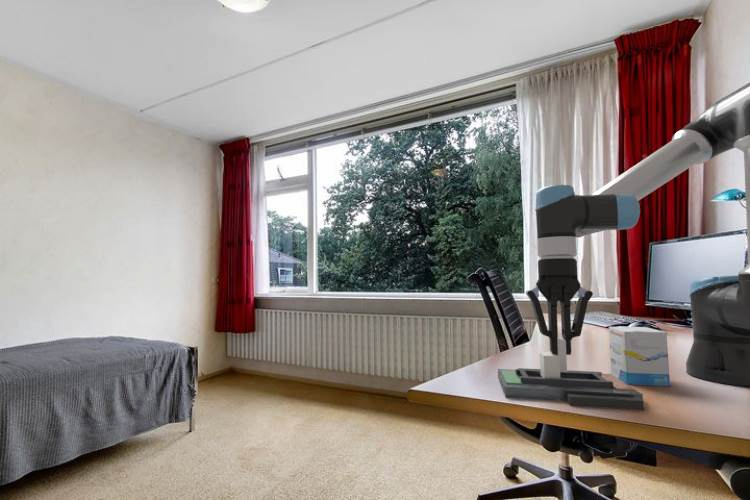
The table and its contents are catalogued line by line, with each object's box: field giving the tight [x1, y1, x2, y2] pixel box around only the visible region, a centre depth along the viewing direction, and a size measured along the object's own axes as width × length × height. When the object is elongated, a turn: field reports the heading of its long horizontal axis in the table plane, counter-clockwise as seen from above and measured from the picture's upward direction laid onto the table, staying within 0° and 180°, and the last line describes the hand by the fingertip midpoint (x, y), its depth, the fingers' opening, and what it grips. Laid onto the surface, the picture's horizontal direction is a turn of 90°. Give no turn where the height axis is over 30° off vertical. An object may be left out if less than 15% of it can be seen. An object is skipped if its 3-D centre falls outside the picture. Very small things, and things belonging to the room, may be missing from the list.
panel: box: [497, 368, 644, 402], centre depth 76 cm, size 24×14×3 cm, turn 77°
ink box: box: [608, 325, 671, 387], centre depth 83 cm, size 8×8×12 cm
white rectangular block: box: [539, 351, 560, 378], centre depth 77 cm, size 3×4×5 cm
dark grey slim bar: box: [517, 367, 604, 374], centre depth 85 cm, size 18×2×2 cm, turn 77°
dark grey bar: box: [567, 394, 645, 411], centre depth 66 cm, size 12×2×2 cm, turn 77°
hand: (561, 370), depth 76 cm, fingers closed
